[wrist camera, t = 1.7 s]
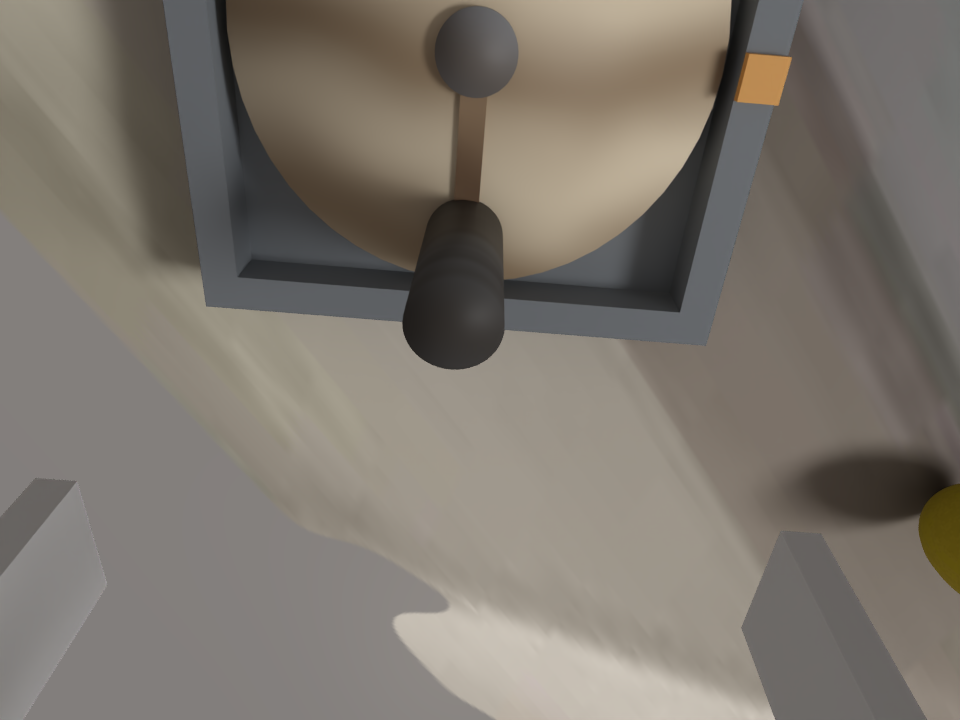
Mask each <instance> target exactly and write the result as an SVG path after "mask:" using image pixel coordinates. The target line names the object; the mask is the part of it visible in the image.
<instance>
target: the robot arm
mask: <svg viewBox="0 0 960 720" xmlns="http://www.w3.org/2000/svg"><path fill="white" fill-rule="evenodd" d="M106 586H107V582H106V578H105V575H104V571H103V568H102V564H101V561H100V558H99V554H98V551H97V547H96V544H95V540H94V537H93V534H92V530H91V527H90V523H89V520H88V516H87V513H86V509H85V506H84V503H83V499H82V496H81V492H80V489H79V485H78V482H77V481H68V480H55V479H40V478H35V479H34V480H33V481H32V483H31V484H30V485H29V486H28V487H27V488H26V489H25V490H24V491H23V493H22V494H21V495H20V496H19V497H18V498H17V499H16V501H15V502H14V503H13V504H12V505H11V506H10V507H9V508H8V510H6V512H5V513H4V514H3V515H2V516H1V517H0V720H23V719H24V718H25V716H26V714H27V713H28V711H29V710H30V708H31V706H32V705H33V703H34V702H35V700H36V698H37V697H38V695H39V694H40V692H41V690H42V689H43V687H44V686H45V684H46V682H47V681H48V679H49V678H50V676H51V674H52V672H53V671H54V670H55V668H56V666H57V665H58V663H59V662H60V660H61V658H62V657H63V655H64V654H65V652H66V650H67V649H68V647H69V646H70V644H71V642H72V641H73V639H74V638H75V636H76V634H77V633H78V631H79V629H80V628H81V626H82V624H83V623H84V621H85V620H86V618H87V617H88V615H89V614H90V612H91V610H92V609H93V607H94V605H95V604H96V602H97V601H98V599H99V597H100V596H101V594H102V593H103V591H104V589H105V588H106ZM741 628H742V631H743V633H744V636H745V639H746V642H747V644H748V647H749V650H750V652H751V655H752V658H753V660H754V663H755V666H756V669H757V671H758V674H759V677H760V679H761V682H762V685H763V688H764V690H765V693H766V696H767V698H768V701H769V704H770V706H771V709H772V712H773V715H774V717H775V720H927V719H926V717H925V715H924V714H923V712H922V710H921V708H920V707H919V705H918V703H917V701H916V700H915V698H914V696H913V694H912V693H911V691H910V689H909V687H908V686H907V684H906V682H905V680H904V679H903V677H902V675H901V673H900V672H899V670H898V668H897V666H896V665H895V663H894V661H893V659H892V657H891V656H890V654H889V652H888V650H887V649H886V647H885V645H884V643H883V642H882V640H881V638H880V636H879V635H878V633H877V631H876V629H875V628H874V626H873V624H872V622H871V621H870V619H869V617H868V615H867V614H866V612H865V610H864V608H863V607H862V605H861V603H860V601H859V600H858V598H857V596H856V594H855V593H854V591H853V589H852V587H851V586H850V584H849V582H848V580H847V579H846V577H845V575H844V573H843V572H842V570H841V568H840V566H839V565H838V563H837V561H836V559H835V557H834V556H833V554H832V552H831V550H830V549H829V547H828V545H827V543H826V542H825V540H824V538H823V536H822V535H821V534H818V533H804V532H790V531H781V532H780V534H779V537H778V539H777V541H776V544H775V546H774V549H773V551H772V554H771V556H770V559H769V561H768V564H767V566H766V568H765V571H764V573H763V576H762V578H761V581H760V583H759V586H758V588H757V591H756V593H755V595H754V598H753V600H752V603H751V605H750V608H749V610H748V613H747V615H746V618H745V620H744V622H743V625H742V627H741Z"/></svg>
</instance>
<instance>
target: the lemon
mask: <svg viewBox="0 0 960 720" xmlns="http://www.w3.org/2000/svg"><path fill="white" fill-rule="evenodd" d="M918 530H919V536H920V540H921V544H922V547H923V550H924V552H925V554H926V556H927V558H928V560H929V561H930V563H931V564H932V566H933V567H934V568H935V570H936V571H937V572H938V573H939V575H940V576H941V577H942V578H943V579H944V580H945V581H946V582H947V583H948V584H949V585H950V586H951V587H952V588H953V589H954V590H955V591H957V592H958V593H959V594H960V484H956V485H952V486H949V487H946V488H944V489H942V490H941V491H939V492H937V493H936V494H935V495H933V496H932V497H931V498H930V499H929V500H928V502H927V503H926V504H925V506H924V508H923V510H922V512H921V515H920V519H919V529H918Z"/></svg>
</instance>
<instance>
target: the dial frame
mask: <svg viewBox="0 0 960 720" xmlns="http://www.w3.org/2000/svg"><path fill="white" fill-rule="evenodd" d="M802 4H803V0H731V17H730V34H729V42H728V48H727V53H726V59H725V65H724V70H723V75H722V78H721V82H720V85H719V88H718V91H717V95H716V98H715V101H714V105H713V108H712V110H711V112H710V115H709V117H708V119H707V122H706V124H705V126H704V129H703V131H702V133H701V135H700V138H699V140H698V141H697V143H696V145H695V147H694V148H693V150H692V152H691V153H690V155H689V157H688V159H687V160H686V162H685V164H684V166H683V167H682V169H681V170H680V171H679V173H678V174H677V175H676V177H675V178H674V179H673V181H672V182H671V183H670V185H669V186H668V187H667V189H666V190H665V191H664V193H663V194H662V195H661V196H660V197H659V198H658V199H657V200H656V201H655V202H654V203H653V204H652V205H651V206H650V207H649V209H648V210H647V211H646V212H645V213H644V214H643V215H642V216H641V217H639V218H638V219H637V220H636V221H635V222H633V223H632V224H631V225H630V226H629V227H627V228H626V229H625V230H624V231H623V232H621V233H620V234H619V235H617V236H616V237H614V238H613V239H611V240H610V241H608V242H607V243H605V244H604V245H602V246H601V247H599V248H598V249H596V250H594V251H592V252H590V253H588V254H586V255H584V256H582V257H580V258H578V259H576V260H574V261H572V262H570V263H568V264H565V265H562V266H559V267H556V268H554V269H551V270H548V271H545V272H542V273H538V274H533V275H529V276H524V277H520V278H515V279H505V280H504V318H505V327H504V330H514V331H527V332H539V333H552V334H565V335H577V336H590V337H603V338H615V339H628V340H641V341H653V342H666V343H679V344H691V345H704V346H706V344H707V340H708V337H709V333H710V329H711V326H712V322H713V319H714V315H715V312H716V308H717V305H718V301H719V298H720V294H721V291H722V287H723V283H724V280H725V276H726V273H727V269H728V266H729V262H730V259H731V255H732V252H733V248H734V245H735V241H736V237H737V234H738V230H739V227H740V223H741V220H742V216H743V213H744V209H745V206H746V202H747V199H748V195H749V191H750V188H751V184H752V181H753V177H754V174H755V170H756V167H757V163H758V160H759V156H760V153H761V149H762V145H763V142H764V138H765V135H766V131H767V128H768V124H769V121H770V117H771V114H772V110H773V107H774V105H777V106H778V105H779V101H780V98H781V94H782V91H783V87H784V84H785V80H786V77H787V73H788V70H789V66H790V63H791V59H792V57H789V56H788V54H789V50H790V46H791V43H792V39H793V36H794V32H795V29H796V25H797V22H798V18H799V15H800V11H801V8H802ZM163 5H164V12H165V19H166V26H167V33H168V40H169V47H170V55H171V62H172V69H173V76H174V83H175V90H176V97H177V104H178V111H179V118H180V125H181V132H182V139H183V146H184V153H185V160H186V168H187V175H188V182H189V189H190V196H191V203H192V210H193V217H194V224H195V231H196V238H197V245H198V252H199V259H200V266H201V273H202V280H203V288H204V295H205V302H206V306H209V307H222V308H235V309H247V310H260V311H273V312H285V313H298V314H311V315H324V316H336V317H349V318H362V319H374V320H387V321H400V322H402V320H403V314H404V310H405V306H406V302H407V298H408V295H409V291H410V287H411V283H412V280H413V276H414V271H410V270H407V269H404V268H402V267H399V266H397V265H394V264H392V263H389V262H387V261H384V260H382V259H380V258H378V257H376V256H374V255H372V254H370V253H369V252H367V251H365V250H363V249H361V248H359V247H358V246H356V245H354V244H353V243H351V242H350V241H349V240H347V239H346V238H344V237H343V236H342V235H340V234H339V233H337V232H336V231H334V230H333V229H332V228H331V227H329V226H328V225H327V224H326V223H325V222H324V221H323V220H322V219H320V218H319V217H318V216H317V215H316V214H315V213H314V212H313V211H312V210H310V209H309V208H308V206H307V205H306V204H305V203H304V202H303V201H302V200H301V199H300V197H299V196H298V195H297V194H296V193H295V192H294V191H293V190H292V188H291V187H290V186H289V185H288V183H287V182H286V181H285V179H284V178H283V176H282V175H281V174H280V172H279V171H278V169H277V168H276V166H275V165H274V164H273V162H272V161H271V159H270V157H269V156H268V154H267V152H266V150H265V148H264V146H263V145H262V143H261V141H260V139H259V137H258V135H257V134H256V132H255V130H254V127H253V125H252V122H251V120H250V117H249V115H248V112H247V110H246V108H245V105H244V103H243V100H242V97H241V93H240V90H239V86H238V83H237V79H236V75H235V72H234V68H233V64H232V57H231V51H230V45H229V39H228V32H227V13H226V0H163Z"/></svg>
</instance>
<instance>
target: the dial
mask: <svg viewBox="0 0 960 720" xmlns="http://www.w3.org/2000/svg"><path fill="white" fill-rule="evenodd" d="M226 13H227V32H228V39H229V45H230V51H231V57H232V64H233V68H234V72H235V75H236V79H237V83H238V86H239V90H240V93H241V97H242V100H243V103H244V105H245V108H246V110H247V112H248V115H249V117H250V120H251V122H252V125H253V127H254V130H255V132H256V134H257V135H258V137H259V139H260V141H261V143H262V145H263V146H264V148H265V150H266V152H267V154H268V156H269V157H270V159H271V161H272V162H273V164H274V165H275V166H276V168H277V169H278V171H279V172H280V174H281V175H282V176H283V178H284V179H285V181H286V182H287V183H288V185H289V186H290V187H291V188H292V190H293V191H294V192H295V193H296V194H297V195H298V196H299V197H300V199H301V200H302V201H303V202H304V203H305V204H306V205H307V206H308V208H309V209H310V210H312V211H313V212H314V213H315V214H316V215H317V216H318V217H319V218H320V219H322V220H323V221H324V222H325V223H326V224H327V225H328V226H329V227H331V228H332V229H333V230H334V231H336V232H337V233H339V234H340V235H342V236H343V237H344V238H346V239H347V240H349V241H350V242H351V243H353V244H354V245H356V246H358V247H359V248H361V249H363V250H365V251H367V252H369V253H370V254H372V255H374V256H376V257H378V258H380V259H382V260H384V261H387V262H389V263H392V264H394V265H397V266H399V267H402V268H404V269H407V270H410V271H414V276H413V280H412V283H411V287H410V291H409V295H408V298H407V302H406V306H405V310H404V314H403V320H402V324H403V332H404V335H405V338H406V340H407V342H408V344H409V346H410V347H411V349H412V350H413V351H414V352H415V353H416V354H417V355H418V356H419V357H420V358H421V359H423V360H424V361H426V362H428V363H430V364H432V365H434V366H437V367H440V368H444V369H465V368H470V367H473V366H476V365H478V364H480V363H482V362H484V361H485V360H487V359H488V358H489V357H490V356H491V355H492V354H493V353H494V352H495V351H496V350H497V348H498V347H499V345H500V343H501V341H502V338H503V335H504V327H505V318H504V280H505V279H515V278H520V277H524V276H529V275H533V274H538V273H542V272H545V271H548V270H551V269H554V268H556V267H559V266H562V265H565V264H568V263H570V262H572V261H574V260H576V259H578V258H580V257H582V256H584V255H586V254H588V253H590V252H592V251H594V250H596V249H598V248H599V247H601V246H602V245H604V244H605V243H607V242H608V241H610V240H611V239H613V238H614V237H616V236H617V235H619V234H620V233H621V232H623V231H624V230H625V229H626V228H627V227H629V226H630V225H631V224H632V223H633V222H635V221H636V220H637V219H638V218H639V217H641V216H642V215H643V214H644V213H645V212H646V211H647V210H648V209H649V207H650V206H651V205H652V204H653V203H654V202H655V201H656V200H657V199H658V198H659V197H660V196H661V195H662V194H663V193H664V191H665V190H666V189H667V187H668V186H669V185H670V183H671V182H672V181H673V179H674V178H675V177H676V175H677V174H678V173H679V171H680V170H681V169H682V167H683V166H684V164H685V162H686V160H687V159H688V157H689V155H690V153H691V152H692V150H693V148H694V147H695V145H696V143H697V141H698V140H699V138H700V135H701V133H702V131H703V129H704V126H705V124H706V122H707V119H708V117H709V115H710V112H711V110H712V108H713V105H714V101H715V98H716V95H717V91H718V88H719V85H720V82H721V78H722V75H723V70H724V65H725V59H726V53H727V48H728V42H729V34H730V17H731V0H226Z"/></svg>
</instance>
